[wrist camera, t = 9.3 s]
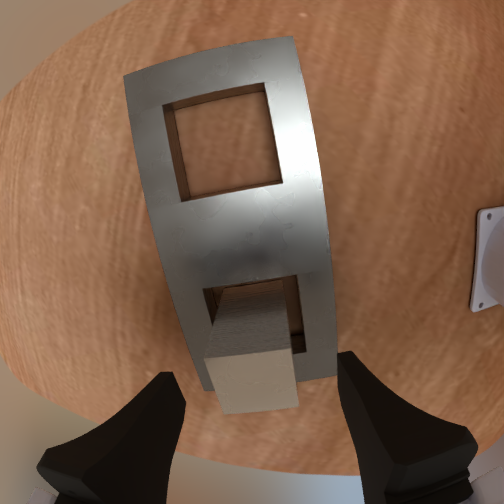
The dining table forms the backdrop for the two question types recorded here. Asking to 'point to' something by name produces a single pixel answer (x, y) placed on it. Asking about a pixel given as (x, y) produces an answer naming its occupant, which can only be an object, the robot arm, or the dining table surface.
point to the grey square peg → (252, 350)
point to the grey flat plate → (237, 197)
